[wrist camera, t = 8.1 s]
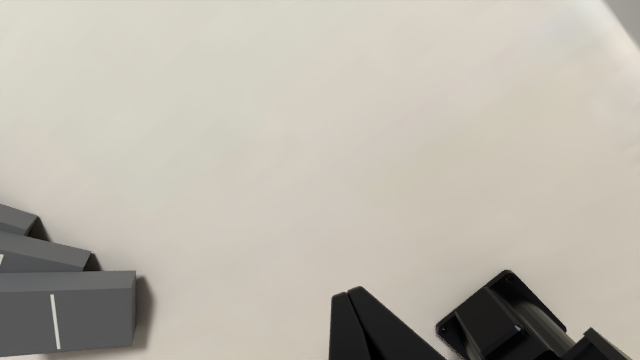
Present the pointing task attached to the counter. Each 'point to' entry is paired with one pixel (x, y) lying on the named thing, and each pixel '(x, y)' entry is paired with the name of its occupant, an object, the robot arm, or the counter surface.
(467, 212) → the counter surface
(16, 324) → the domino
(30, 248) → the domino
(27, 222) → the domino
